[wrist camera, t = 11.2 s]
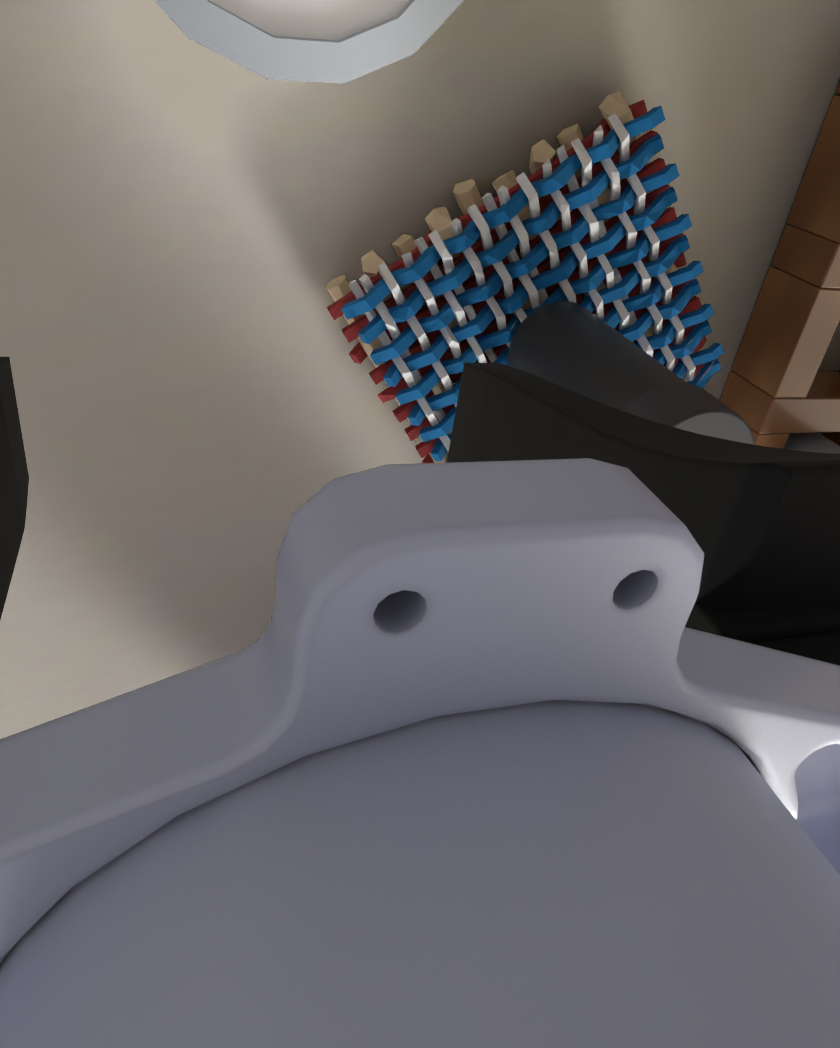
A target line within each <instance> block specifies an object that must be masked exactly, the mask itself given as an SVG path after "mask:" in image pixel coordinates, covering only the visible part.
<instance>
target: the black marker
mask: <svg viewBox="0 0 840 1048" xmlns="http://www.w3.org/2000/svg"><path fill="white" fill-rule="evenodd" d="M508 365H509V366H511V367H514V368H517V369H520V370H523V371H526V372H528V373H531V374H533V375H536V376H538V377H541V378H543V379H546V380H548V381H550V382H553V383H555V384H557V385H560V386H562V387H565V388H567V389H569V390H572V391H574V392H576V393H579V394H581V395H584V396H586V397H588V398H591V399H593V400H596V401H598V402H601V403H603V404H606V405H609V406H611V407H614V408H617V409H619V410H622V411H625V412H627V413H630V414H633V415H636V416H639V417H642V418H645V419H648V420H651V421H654V422H658V423H661V424H665V425H668V426H672V427H675V428H679V429H682V430H686V431H690V432H694V433H698V434H702V435H706V436H711V437H716V438H721V439H726V440H731V441H736V442H741V443H747V444H753V445H754V440H753V435H752V432H751V430H750V427H749V425H748V424H747V422H746V421H745V420H744V419H743V418H742V417H741V416H740V415H739V414H737V413H736V412H734V411H733V410H732V409H730V408H729V407H728V406H726V405H725V404H723V403H722V402H721V401H719V400H718V399H716V398H715V397H714V396H712V395H711V394H710V393H708V392H707V391H705V390H704V389H702V388H701V387H699V386H696V385H693V384H689V383H687V382H686V381H684V380H683V379H682V378H680V377H679V376H677V375H676V374H675V373H673V372H672V371H671V370H669V369H668V368H667V367H665V366H664V365H662V364H661V363H660V362H658V361H657V360H656V359H654V358H653V357H652V356H650V355H649V354H647V353H646V352H645V351H643V350H642V349H641V348H639V347H638V346H637V345H635V344H634V343H632V342H631V341H630V340H628V339H627V338H626V337H624V336H623V335H622V334H620V333H619V332H617V331H616V330H615V329H613V328H612V327H611V326H609V325H608V324H607V323H605V322H604V321H603V320H601V319H600V318H598V317H597V316H596V315H594V314H593V313H592V312H590V311H589V310H588V309H586V308H585V307H583V306H582V305H579V304H577V303H574V302H568V301H560V302H554V303H550V304H547V305H544V306H542V307H540V308H538V309H537V310H535V311H534V312H532V313H531V314H530V315H529V316H528V317H527V318H526V319H524V321H523V322H522V323H521V324H520V326H519V327H518V328H517V330H516V332H515V334H514V335H513V338H512V340H511V343H510V347H509V352H508Z"/></svg>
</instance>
